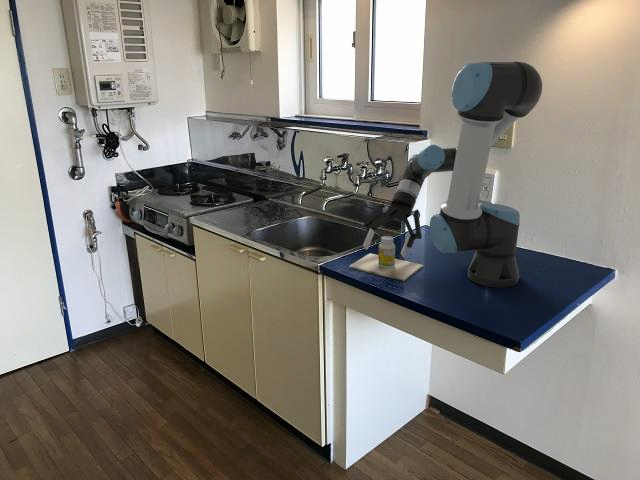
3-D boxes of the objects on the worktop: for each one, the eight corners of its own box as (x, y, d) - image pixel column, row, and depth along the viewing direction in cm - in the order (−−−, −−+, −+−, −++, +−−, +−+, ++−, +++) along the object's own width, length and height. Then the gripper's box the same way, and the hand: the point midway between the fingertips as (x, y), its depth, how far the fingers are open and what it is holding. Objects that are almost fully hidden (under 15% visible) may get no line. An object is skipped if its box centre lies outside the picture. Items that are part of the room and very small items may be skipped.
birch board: (422, 266, 171) (423, 264, 171) (404, 280, 160) (404, 279, 160) (369, 254, 182) (369, 253, 181) (349, 267, 171) (349, 265, 171)
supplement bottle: (395, 268, 168) (396, 240, 165) (378, 268, 168) (379, 240, 165) (394, 262, 173) (395, 235, 170) (378, 262, 173) (378, 235, 170)
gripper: (443, 207, 170) (422, 264, 163) (376, 197, 183) (354, 249, 177) (438, 195, 164) (416, 253, 158) (369, 185, 178) (346, 239, 171)
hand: (383, 251), depth 167 cm, fingers open, 13 cm apart
